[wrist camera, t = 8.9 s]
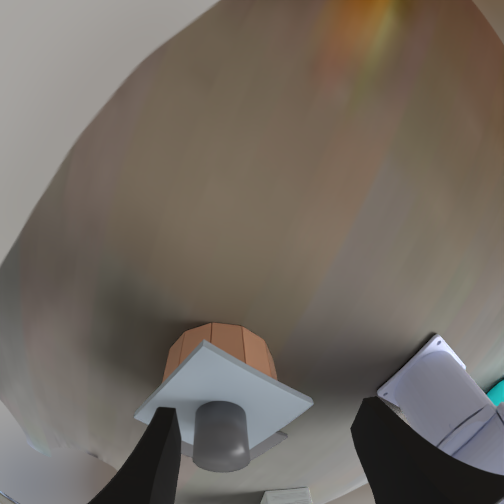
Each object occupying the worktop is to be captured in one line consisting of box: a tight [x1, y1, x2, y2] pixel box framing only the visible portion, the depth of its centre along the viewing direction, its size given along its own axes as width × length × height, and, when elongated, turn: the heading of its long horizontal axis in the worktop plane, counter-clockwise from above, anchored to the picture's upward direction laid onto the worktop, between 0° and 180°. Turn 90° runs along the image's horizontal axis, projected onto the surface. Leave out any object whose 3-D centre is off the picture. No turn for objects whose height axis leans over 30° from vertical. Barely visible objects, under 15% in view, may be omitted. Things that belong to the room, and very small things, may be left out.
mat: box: [181, 431, 288, 461], centre depth 25 cm, size 9×9×1 cm
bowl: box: [162, 323, 278, 383], centre depth 19 cm, size 8×8×4 cm
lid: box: [134, 339, 314, 472], centre depth 15 cm, size 8×8×4 cm
